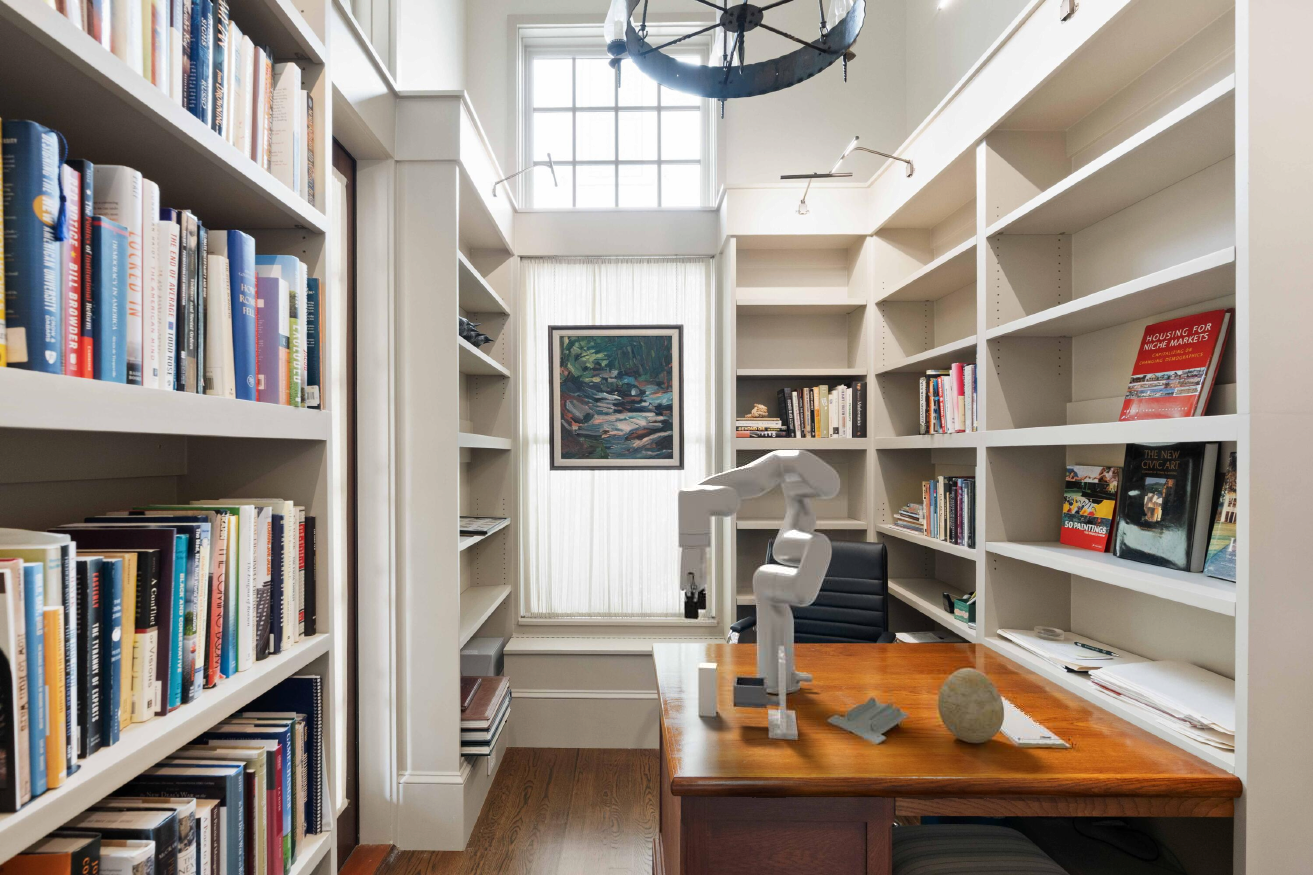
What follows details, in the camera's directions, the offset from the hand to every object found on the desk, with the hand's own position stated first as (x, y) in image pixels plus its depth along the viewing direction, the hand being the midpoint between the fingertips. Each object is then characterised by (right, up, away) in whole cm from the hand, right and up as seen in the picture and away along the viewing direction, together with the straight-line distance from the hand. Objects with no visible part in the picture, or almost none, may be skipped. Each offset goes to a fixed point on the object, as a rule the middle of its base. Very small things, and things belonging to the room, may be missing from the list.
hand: (695, 613), depth 163 cm
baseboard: (+72, -24, -5) cm, 76 cm away
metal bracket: (+38, -23, -9) cm, 46 cm away
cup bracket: (+15, -23, -8) cm, 28 cm away
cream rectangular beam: (+3, -23, 0) cm, 23 cm away
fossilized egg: (+57, -23, -17) cm, 64 cm away
